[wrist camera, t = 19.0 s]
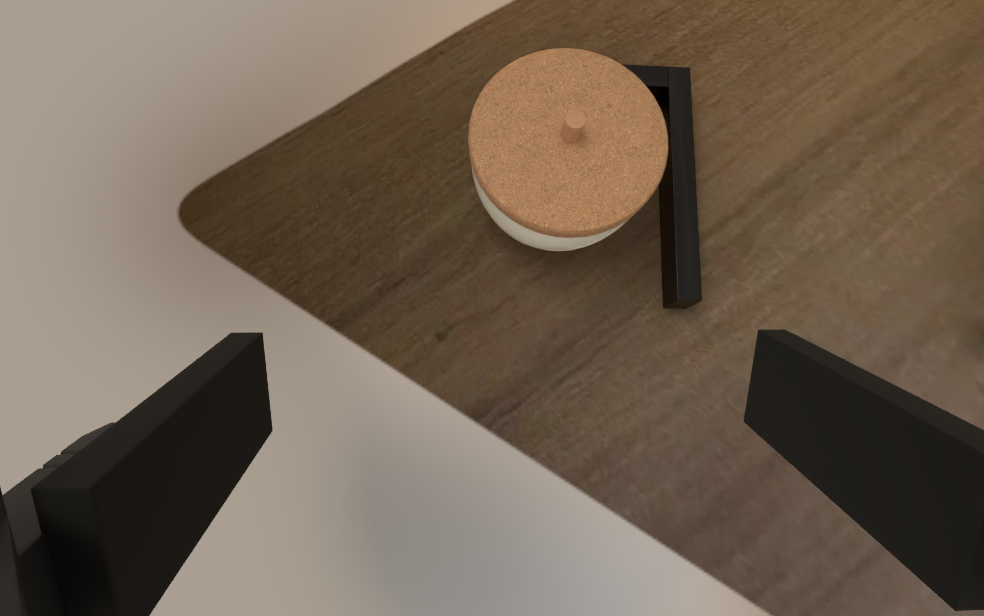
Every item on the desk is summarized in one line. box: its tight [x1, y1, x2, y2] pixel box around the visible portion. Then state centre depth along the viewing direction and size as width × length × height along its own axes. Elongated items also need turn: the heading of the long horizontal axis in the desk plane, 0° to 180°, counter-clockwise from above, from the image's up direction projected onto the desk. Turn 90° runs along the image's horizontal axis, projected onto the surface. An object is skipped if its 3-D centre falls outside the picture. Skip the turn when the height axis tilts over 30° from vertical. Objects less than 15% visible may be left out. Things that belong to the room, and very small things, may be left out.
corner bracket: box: [621, 64, 702, 309], centre depth 35 cm, size 12×16×2 cm
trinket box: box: [468, 48, 668, 251], centre depth 31 cm, size 11×11×9 cm
